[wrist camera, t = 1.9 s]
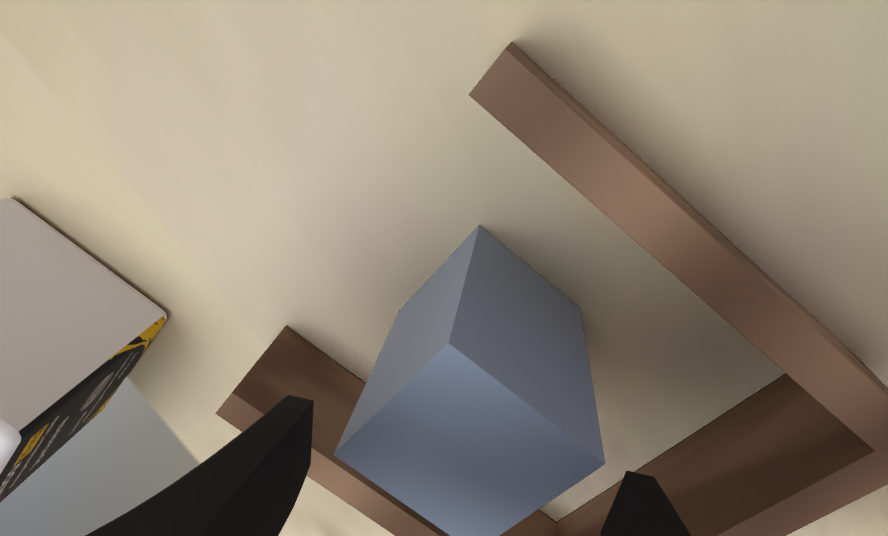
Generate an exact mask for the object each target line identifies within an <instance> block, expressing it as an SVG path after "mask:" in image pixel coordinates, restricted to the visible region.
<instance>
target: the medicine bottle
mask: <svg viewBox="0 0 888 536" xmlns="http://www.w3.org/2000/svg"><path fill="white" fill-rule="evenodd" d="M166 319H167V315H166V313H165V311H164V310H163V309H161V308H160V307H159V306H157V305H156V304H154V303H153V302H152V301H150V300H149V299H148V298H146V297H145V296H144V295H142V294H141V293H140V292H138V291H137V290H136V289H134V288H133V287H132V286H130V285H129V284H128V283H126V282H125V281H124V280H122V279H121V278H120V277H118V276H117V275H116V274H114V273H113V272H112V271H110V270H109V269H108V268H106V267H105V266H103V265H102V264H101V263H99V262H98V261H97V260H95V259H94V258H93V257H91V256H90V255H89V254H87V253H86V252H85V251H83V250H82V249H81V248H79V247H78V246H77V245H75V244H74V243H73V242H71V241H70V240H69V239H67V238H66V237H65V236H63V235H62V234H61V233H59V232H58V231H57V230H55V229H54V228H53V227H51V226H50V225H48V224H47V223H46V222H44V221H43V220H42V219H40V218H39V217H38V216H36V215H35V214H34V213H32V212H31V211H30V210H28V209H27V208H26V207H24V206H23V205H22V204H20V203H19V202H18V201H16V200H14V199H1V200H0V502H1V501H2V500H3V499H4V498H5V497H7V496H8V495H9V494H10V493H11V492H12V491H13V490H14V489H15V488H16V487H18V486H19V485H20V484H21V483H22V482H23V481H24V480H25V479H27V477H29V476H30V475H31V474H32V473H33V472H34V471H35V470H36V469H38V468H39V467H40V466H41V465H42V464H43V463H44V462H45V461H46V460H47V459H49V458H50V457H51V456H52V455H53V454H54V453H55V452H56V451H57V450H58V449H60V448H61V447H62V446H63V445H64V444H65V443H66V442H67V441H69V440H70V439H71V438H72V437H73V436H74V435H75V434H76V433H77V432H78V431H79V430H81V429H82V428H83V427H84V426H85V425H86V424H87V423H88V422H89V421H91V420H92V419H93V418H94V417H95V416H96V415H97V414H98V413H99V412H101V410H103V408H104V407H105V405H106V404H107V403H108V401H109V400H110V398H111V397H112V395H113V394H114V393H115V391H116V390H117V388H118V387H119V386H120V384H121V383H122V381H123V380H124V378H125V377H126V376H127V375H128V373H129V372H130V371H131V369H132V368H133V366H134V365H135V364H136V362H137V361H138V359H139V358H140V357H141V355H142V354H143V352H144V351H145V350H146V348H147V347H148V345H149V344H150V343H151V341H152V340H153V338H154V337H155V336H156V334H157V333H158V331H159V330H160V329H161V327H162V326H163V324H164V323H165V321H166Z"/></svg>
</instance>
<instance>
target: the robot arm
mask: <svg viewBox="0 0 888 536" xmlns="http://www.w3.org/2000/svg"><path fill="white" fill-rule="evenodd" d="M313 408H314V400H309V399H305V398H301V397H296V396H292V395H288V396H286V397H284V398H283V399H282V400H281V401H279V402H278V403H277V404H276V405H275V406H273V407H272V408H271V409H270V410H269V411H268V412H266V413H265V414H264V415H263V416H262V417H260V418H259V419H258V420H257V421H256V422H254V423H253V424H252V425H251V426H249V427H248V428H247V429H246V430H245V431H243V432H242V433H241V434H240V435H238V436H237V437H236V438H234V439H233V440H232V441H231V442H229V443H228V444H227V445H225V446H224V447H223V448H222V449H220V450H219V451H218V452H216V453H215V454H214V455H212V456H211V457H210V458H208V459H207V460H206V461H204V462H203V463H201V464H200V465H199V466H197V467H196V468H194V469H193V470H191V471H190V472H189V473H187V474H186V475H184V476H183V477H181V478H180V479H179V480H177V481H176V482H174V483H173V484H171V485H170V486H168V487H167V488H165V489H164V490H162V491H161V492H159V493H158V494H156V495H155V496H153V497H151V498H150V499H148V500H147V501H145V502H143V503H142V504H140V505H138V506H137V507H135V508H134V509H132V510H130V511H129V512H127V513H126V514H123V515H122V516H120V517H118V518H116V519H115V520H113V521H111V522H109V523H108V524H106V525H104V526H102V527H100V528H98V529H97V530H95V531H93V532H91V533H89V534H88V535H86V536H278V535H279V533H280V531H281V530H282V528H283V526H284V524H285V522H286V520H287V518H288V516H289V515H290V513H291V511H292V509H293V507H294V505H295V502H296V500H297V497H298V495H299V493H300V490H301V488H302V485H303V483H304V480H305V478H306V475H307V473H308V470H309V467H310V465H311V448H312V428H313ZM600 533H601V536H691V534H690V533H689V531H688V530H687V528H686V526H685V525H684V523H683V522H682V520H681V518H680V517H679V515H678V514H677V512H676V510H675V509H674V507H673V506H672V504H671V502H670V501H669V499H668V498H667V496H666V494H665V493H664V491H663V490H662V488H661V487H660V485H659V483H658V482H657V480H656V479H655V477H653V476H648V475H644V474H639V473H635V472H630V471H626V473H625V476H624V478H623V480H622V483H621V485H620V487H619V490H618V492H617V494H616V497H615V499H614V501H613V504H612V506H611V509H610V511H609V513H608V516H607V518H606V520H605V523H604V525H603V527H602V530H601V532H600Z"/></svg>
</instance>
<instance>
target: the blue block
mask: <svg viewBox="0 0 888 536" xmlns="http://www.w3.org/2000/svg"><path fill="white" fill-rule="evenodd" d="M333 455H335V456H336V457H337V458H339V459H340V460H342V461H343V462H345V463H346V464H348V465H349V466H350V467H352V468H353V469H355V470H356V471H358V472H359V473H360V474H362V475H363V476H365V477H366V478H368V479H369V480H371V481H372V482H373V483H375V484H376V485H378V486H379V487H381V488H382V489H384V490H385V491H386V492H388V493H389V494H391V495H392V496H394V497H395V498H397V499H398V500H399V501H401V502H402V503H404V504H405V505H407V506H408V507H409V508H411V509H412V510H414V511H415V512H417V513H418V514H420V515H421V516H422V517H424V518H425V519H427V520H428V521H430V522H431V523H433V524H434V525H435V526H437V527H438V528H440V529H441V530H443V531H444V532H445V533H447V534H448V535H450V536H499V535H501V534H502V533H504V532H505V531H507V530H508V529H510V528H511V527H513V526H514V525H516V524H517V523H519V522H520V521H522V520H523V519H525V518H526V517H527V516H529V515H530V514H532V513H533V512H535V511H536V510H538V509H539V508H541V507H542V506H544V505H545V504H547V503H548V502H550V501H551V500H553V499H554V498H556V497H557V496H559V495H560V494H561V493H563V492H564V491H566V490H567V489H569V488H570V487H572V486H573V485H575V484H576V483H578V482H579V481H581V480H582V479H584V478H585V477H587V476H588V475H590V474H591V473H592V472H594V471H595V470H597V469H598V468H600V467H601V466H603V465H604V464H605V459H604V453H603V447H602V441H601V434H600V428H599V422H598V416H597V410H596V404H595V397H594V391H593V385H592V379H591V373H590V367H589V361H588V354H587V348H586V342H585V336H584V330H583V324H582V317H581V311H580V308H579V307H578V306H577V305H576V304H575V303H573V302H572V301H571V300H570V299H568V298H567V297H566V296H565V295H564V294H562V293H561V292H560V291H559V290H558V289H556V288H555V287H554V286H553V285H552V284H550V283H549V282H548V281H547V280H546V279H544V278H543V277H542V276H541V275H539V274H538V273H537V272H536V271H535V270H533V269H532V268H531V267H530V266H529V265H527V264H526V263H525V262H524V261H523V260H521V259H520V258H519V257H518V256H517V255H515V254H514V253H513V252H512V251H511V250H509V249H508V248H507V247H506V246H504V245H503V244H502V243H501V242H500V241H498V240H497V239H496V238H495V237H494V236H492V235H491V234H490V233H489V232H488V231H486V230H485V229H484V228H483V227H482V226H480V225H479V226H478V227H477V228H476V229H475V230H474V231H473V232H472V233H471V234H470V236H469V237H468V238H467V239H466V240H465V241H464V242H463V243H462V244H461V245H460V246H459V247H458V248H457V250H456V251H455V252H454V253H453V254H452V255H451V256H450V257H449V258H448V259H447V260H446V261H445V263H444V264H443V265H442V266H441V267H440V268H439V269H438V270H437V271H436V272H435V273H434V274H433V275H432V277H431V278H430V279H429V280H428V281H427V282H426V283H425V284H424V285H423V286H422V287H421V288H420V290H419V291H418V292H417V293H416V294H415V295H414V296H413V297H412V298H411V299H410V300H409V301H408V302H407V304H406V305H405V306H404V307H403V308H402V309H401V310H400V311H399V313H398V315H397V317H396V319H395V322H394V324H393V326H392V328H391V330H390V332H389V335H388V337H387V339H386V341H385V343H384V346H383V348H382V350H381V352H380V354H379V356H378V359H377V361H376V363H375V365H374V367H373V369H372V372H371V374H370V376H369V378H368V380H367V383H366V385H365V387H364V389H363V391H362V393H361V396H360V398H359V400H358V402H357V404H356V406H355V409H354V411H353V413H352V415H351V417H350V420H349V422H348V424H347V426H346V428H345V430H344V433H343V435H342V437H341V439H340V441H339V443H338V446H337V448H336V450H335V452H334V454H333Z"/></svg>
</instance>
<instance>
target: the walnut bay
mask: <svg viewBox="0 0 888 536" xmlns="http://www.w3.org/2000/svg"><path fill="white" fill-rule="evenodd" d="M469 96H471V97H472V98H473V99H474V100H475V101H476V102H477V103H479V104H480V105H481V106H482V107H483V108H484V109H485V110H487V111H488V112H489V113H490V114H491V115H492V116H493V117H495V118H496V119H497V120H498V121H499V122H500V123H501V124H503V125H504V126H505V127H506V128H507V129H508V130H509V131H510V132H512V133H513V134H514V135H515V136H516V137H517V138H518V139H520V140H521V141H522V142H523V143H524V144H525V145H526V146H528V147H529V148H530V149H531V150H532V151H533V152H534V153H536V154H537V155H538V156H539V157H540V158H541V159H542V160H544V161H545V162H546V163H547V164H548V165H549V166H550V167H552V168H553V169H554V170H555V171H556V172H557V173H558V174H560V175H561V176H562V177H563V178H564V179H565V180H566V181H568V182H569V183H570V184H571V185H572V186H573V187H574V188H576V189H577V190H578V191H579V192H580V193H581V194H582V195H583V196H585V197H586V198H587V199H588V200H589V201H590V202H591V203H593V204H594V205H595V206H596V207H597V208H598V209H599V210H601V211H602V212H603V213H604V214H605V215H606V216H607V217H609V218H610V219H611V220H612V221H613V222H614V223H615V224H617V225H618V226H619V227H620V228H621V229H622V230H623V231H625V232H626V233H627V234H628V235H629V236H630V237H631V238H633V239H634V240H635V241H636V242H637V243H638V244H639V245H641V246H642V247H643V248H644V249H645V250H646V251H647V252H649V253H650V254H651V255H652V256H653V257H654V258H655V259H657V260H658V261H659V262H660V263H661V264H662V265H663V266H664V267H666V268H667V269H668V270H669V271H670V272H671V273H672V274H674V275H675V276H676V277H677V278H678V279H679V280H680V281H682V282H683V283H684V284H685V285H686V286H687V287H688V288H690V289H691V290H692V291H693V292H694V293H695V294H696V295H698V296H699V297H700V298H701V299H702V300H703V301H704V302H706V303H707V304H708V305H709V306H710V307H711V308H712V309H714V310H715V311H716V312H717V313H718V314H719V315H720V316H722V317H723V318H724V319H725V320H726V321H727V322H728V323H730V324H731V325H732V326H733V327H734V328H735V329H736V330H737V331H739V332H740V333H741V334H742V335H743V336H744V337H745V338H747V339H748V340H749V341H750V342H751V343H752V344H753V345H755V346H756V347H757V348H758V349H759V350H760V351H761V352H763V353H764V354H765V355H766V356H767V357H768V358H769V359H771V360H772V361H773V362H774V363H775V364H776V365H777V366H779V367H780V368H781V369H782V370H783V371H784V372H785V373H787V374H785V375H784V376H782V377H781V378H779V379H778V380H776V381H775V382H773V383H771V384H770V385H768V386H767V387H765V388H764V389H762V390H761V391H759V392H758V393H756V394H755V395H753V396H751V397H750V398H748V399H747V400H745V401H744V402H742V403H741V404H739V405H738V406H736V407H734V408H733V409H731V410H730V411H728V412H727V413H725V414H724V415H722V416H721V417H719V418H718V419H716V420H714V421H713V422H711V423H710V424H708V425H707V426H705V427H704V428H702V429H701V430H699V431H697V432H696V433H694V434H693V435H691V436H690V437H688V438H687V439H685V440H684V441H682V442H681V443H679V444H677V445H676V446H674V447H673V448H671V449H670V450H668V451H667V452H665V453H664V454H662V455H660V456H659V457H657V458H656V459H654V460H653V461H651V462H650V463H648V464H647V465H645V466H644V467H642V468H640V469H639V470H637V471H636V472H635V473H639V474H644V475H648V476H653V477H655V479H656V480H657V482H658V483H659V485H660V487H661V488H662V490H663V491H664V493H665V494H666V496H667V498H668V499H669V501H670V502H671V504H672V506H673V507H674V509H675V510H676V512H677V514H678V515H679V517H680V518H681V520H682V522H683V523H684V525H685V526H686V528H687V530H688V531H689V533H690V534H691V536H786V535H788V534H790V533H792V532H794V531H796V530H798V529H800V528H802V527H804V526H806V525H808V524H810V523H812V522H814V521H816V520H818V519H820V518H822V517H824V516H826V515H828V514H830V513H831V512H833V511H835V510H837V509H839V508H841V507H843V506H845V505H847V504H849V503H851V502H853V501H855V500H857V499H859V498H861V497H863V496H865V495H867V494H869V493H871V492H873V491H875V490H877V489H879V488H881V487H883V486H885V485H887V484H888V388H887V387H886V386H885V385H884V384H883V383H882V382H881V381H880V380H879V379H878V378H877V377H876V376H875V375H874V374H873V373H872V372H871V371H870V370H869V369H868V368H867V367H866V366H865V364H864V363H863V362H862V361H860V360H859V359H858V358H857V357H856V356H855V355H854V354H853V353H852V352H851V351H850V350H848V349H847V348H846V347H845V346H844V345H843V344H842V343H841V342H840V341H839V340H837V339H836V338H835V337H834V336H833V335H832V334H831V333H830V332H829V331H828V330H827V329H825V328H824V327H823V326H822V325H821V324H820V323H819V322H818V321H817V320H816V319H815V318H813V317H812V316H811V315H810V314H809V313H808V312H807V311H806V310H805V309H804V308H802V307H801V306H800V305H799V304H798V303H797V302H796V301H795V300H794V299H793V298H792V297H790V296H789V295H788V294H787V293H786V292H785V291H784V290H783V289H782V288H781V287H780V286H778V285H777V284H776V283H775V282H774V281H773V280H772V279H771V278H770V277H769V276H767V275H766V274H765V273H764V272H763V271H762V270H761V269H760V268H759V267H758V266H757V265H755V264H754V263H753V262H752V261H751V260H750V259H749V258H748V257H747V256H746V255H744V254H743V253H742V252H741V251H740V250H739V249H738V248H737V247H736V246H735V245H734V244H732V243H731V242H730V241H729V240H728V239H727V238H726V237H725V236H724V235H723V234H722V233H720V232H719V231H718V230H717V229H716V228H715V227H714V226H713V225H712V224H711V223H709V222H708V221H707V220H706V219H705V218H704V217H703V216H702V215H701V214H700V213H699V212H697V211H696V210H695V209H694V208H693V207H692V206H691V205H690V204H689V203H688V202H687V201H685V200H684V199H683V198H682V197H681V196H680V195H679V194H678V193H677V192H676V191H674V190H673V189H672V188H671V187H670V186H669V185H668V184H667V183H666V182H665V181H664V180H662V179H661V178H660V177H659V176H658V175H657V174H656V173H655V172H654V171H653V170H651V169H650V168H649V167H648V166H647V165H646V164H645V163H644V162H643V161H642V160H641V159H639V158H638V157H637V156H636V155H635V154H634V153H633V152H632V151H631V150H630V149H629V148H627V147H626V146H625V145H624V144H623V143H622V142H621V141H620V140H619V139H618V138H616V137H615V136H614V135H613V134H612V133H611V132H610V131H609V130H608V129H607V128H606V127H604V126H603V125H602V124H601V123H600V122H599V121H598V120H597V119H596V118H595V117H594V116H592V115H591V114H590V113H589V112H588V111H587V110H586V109H585V108H584V107H583V106H581V105H580V104H579V103H578V102H577V101H576V100H575V99H574V98H573V97H572V96H571V95H569V94H568V93H567V92H566V91H565V90H564V89H563V88H562V87H561V86H560V85H559V84H557V83H556V82H555V81H554V80H553V79H552V78H551V77H550V76H549V75H548V74H546V73H545V72H544V71H543V70H542V69H541V68H540V67H539V66H538V65H537V64H536V63H534V62H533V61H532V60H531V59H530V58H529V57H528V56H527V55H526V54H525V53H523V52H522V51H521V50H520V49H519V48H518V47H517V46H516V45H515V44H514V43H513V42H511V43H510V44H509V45H508V46H507V47H506V48H505V50H504V51H503V52H502V53H501V55H500V56H499V57H498V58H497V60H496V61H495V62H494V63H493V65H492V66H491V67H490V69H489V70H488V71H487V72H486V74H485V75H484V76H483V77H482V79H481V80H480V81H479V82H478V84H477V85H476V86H475V87H474V89H473V90H472V91H471V92H470V94H469ZM365 385H366V384H365V383H364V382H362V381H361V380H359V379H358V378H357V377H355V376H354V375H353V374H351V373H350V372H349V371H347V370H346V369H344V368H343V367H342V366H340V365H339V364H338V363H336V362H335V361H333V360H332V359H331V358H329V357H328V356H327V355H325V354H324V353H322V352H321V351H320V350H318V349H317V348H316V347H314V346H313V345H312V344H310V343H309V342H307V341H306V340H305V339H303V338H302V337H301V336H299V335H298V334H296V333H295V332H294V331H292V330H291V329H290V328H288V327H287V326H285V327H284V329H283V330H282V331H281V332H280V334H279V335H278V336H277V337H276V339H275V340H274V341H273V342H272V344H271V345H270V346H269V347H268V349H267V350H266V351H265V352H264V354H263V355H262V356H261V357H260V358H259V360H258V361H257V362H256V363H255V365H254V366H253V367H252V368H251V370H250V371H249V372H248V373H247V375H246V376H245V377H244V378H243V380H242V381H241V382H240V383H239V385H238V386H237V387H236V388H235V389H234V391H233V392H232V393H231V394H230V396H229V397H228V398H227V400H226V401H225V402H224V403H223V405H222V406H221V407H220V408H219V410H218V411H217V412H216V413H215V414H217V415H218V416H220V417H221V418H223V419H224V420H226V421H227V422H229V423H230V424H231V425H233V426H234V427H236V428H237V429H239V430H240V431H242V432H243V431H245V430H246V429H247V428H248V427H249V426H251V425H252V424H253V423H254V422H256V421H257V420H258V419H259V418H260V417H262V416H263V415H264V414H265V413H266V412H268V411H269V410H270V409H271V408H272V407H273V406H275V405H276V404H277V403H278V402H279V401H281V400H282V399H283V398H284V397H286V396H288V395H292V396H296V397H301V398H305V399H309V400H314V408H313V428H312V448H311V465H310V467H309V470H308V473H307V476H308V477H310V478H311V479H313V480H314V481H316V482H317V483H318V484H320V485H321V486H323V487H324V488H326V489H327V490H329V491H330V492H332V493H333V494H335V495H336V496H338V497H339V498H341V499H342V500H344V501H345V502H346V503H348V504H349V505H351V506H352V507H354V508H355V509H357V510H358V511H360V512H361V513H363V514H364V515H366V516H367V517H369V518H370V519H372V520H373V521H374V522H376V523H377V524H379V525H380V526H382V527H383V528H385V529H386V530H388V531H389V532H391V533H392V534H394V535H395V536H450V535H448V534H447V533H445V532H444V531H443V530H441V529H440V528H438V527H437V526H435V525H434V524H433V523H431V522H430V521H428V520H427V519H425V518H424V517H422V516H421V515H420V514H418V513H417V512H415V511H414V510H412V509H411V508H409V507H408V506H407V505H405V504H404V503H402V502H401V501H399V500H398V499H397V498H395V497H394V496H392V495H391V494H389V493H388V492H386V491H385V490H384V489H382V488H381V487H379V486H378V485H376V484H375V483H373V482H372V481H371V480H369V479H368V478H366V477H365V476H363V475H362V474H360V473H359V472H358V471H356V470H355V469H353V468H352V467H350V466H349V465H348V464H346V463H345V462H343V461H342V460H340V459H339V458H337V457H336V456H335V455H333V454H334V452H335V450H336V448H337V446H338V443H339V441H340V439H341V437H342V435H343V433H344V430H345V428H346V426H347V424H348V422H349V420H350V417H351V415H352V413H353V411H354V409H355V406H356V404H357V402H358V400H359V398H360V396H361V393H362V391H363V389H364V387H365ZM621 483H622V481H620V482H619V483H617V484H616V485H614V486H613V487H611V488H610V489H608V490H607V491H605V492H603V493H602V494H600V495H599V496H597V497H596V498H594V499H593V500H591V501H590V502H588V503H586V504H585V505H583V506H582V507H580V508H579V509H577V510H576V511H574V512H573V513H571V514H570V515H568V516H566V517H565V518H563V519H562V520H560V521H559V522H557V523H556V522H554V521H553V520H551V519H550V518H549V517H547V516H546V515H545V514H543V513H542V512H540V511H539V510H536V511H535V512H533V513H532V514H530V515H529V516H527V517H526V518H525V519H523V520H522V521H520V522H519V523H517V524H516V525H514V526H513V527H511V528H510V529H508V530H507V531H505V532H504V533H502V534H501V535H499V536H601V533H600V532H601V530H602V527H603V525H604V523H605V520H606V518H607V516H608V513H609V511H610V509H611V506H612V504H613V501H614V499H615V497H616V494H617V492H618V490H619V487H620V485H621Z"/></svg>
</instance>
